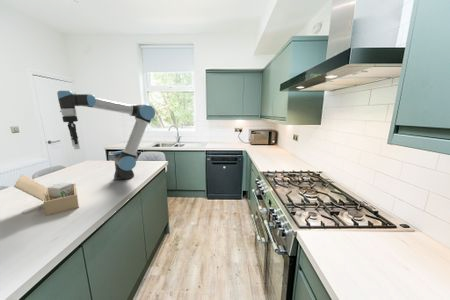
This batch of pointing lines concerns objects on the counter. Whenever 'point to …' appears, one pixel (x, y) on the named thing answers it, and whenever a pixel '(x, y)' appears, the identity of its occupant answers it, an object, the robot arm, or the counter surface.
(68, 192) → the ink box
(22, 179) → the lid
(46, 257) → the counter surface
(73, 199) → the box
